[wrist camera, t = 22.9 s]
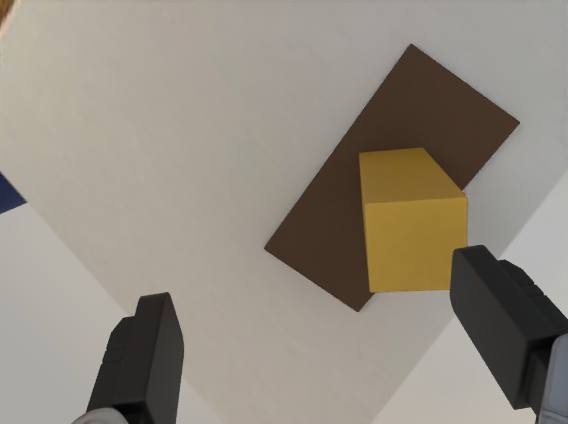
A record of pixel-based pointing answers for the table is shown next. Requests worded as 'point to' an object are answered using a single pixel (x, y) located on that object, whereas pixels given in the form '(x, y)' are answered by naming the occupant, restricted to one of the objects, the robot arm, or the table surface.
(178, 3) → the table surface
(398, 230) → the block
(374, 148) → the mat
